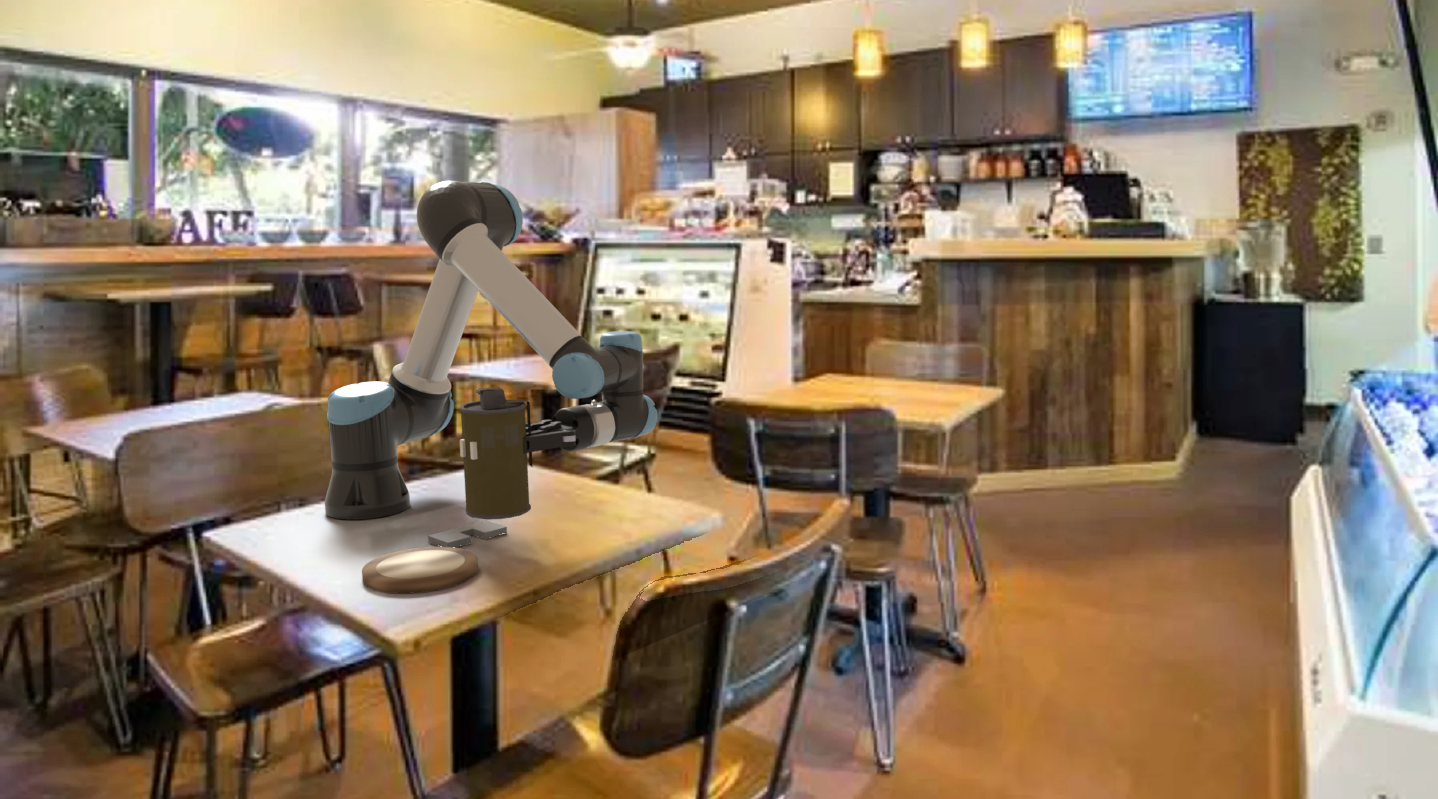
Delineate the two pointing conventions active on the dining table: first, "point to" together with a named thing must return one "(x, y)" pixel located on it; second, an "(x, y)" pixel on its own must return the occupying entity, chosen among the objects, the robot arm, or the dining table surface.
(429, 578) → the beige plate
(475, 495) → the canister
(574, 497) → the dining table surface
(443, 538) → the notched board
